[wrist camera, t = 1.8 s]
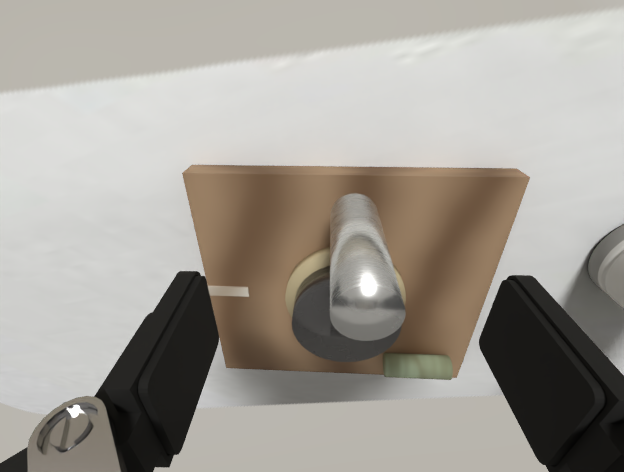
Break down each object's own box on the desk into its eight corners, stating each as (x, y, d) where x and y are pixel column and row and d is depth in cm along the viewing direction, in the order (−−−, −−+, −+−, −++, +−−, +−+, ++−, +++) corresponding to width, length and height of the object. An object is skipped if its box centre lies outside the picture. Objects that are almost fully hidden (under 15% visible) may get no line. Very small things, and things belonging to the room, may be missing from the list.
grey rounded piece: (418, 179, 17) (489, 289, 9) (389, 340, 24) (418, 483, 16) (289, 178, 17) (255, 282, 10) (296, 337, 24) (279, 476, 16)
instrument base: (516, 168, 19) (548, 189, 16) (450, 362, 28) (464, 397, 26) (191, 165, 20) (168, 184, 17) (231, 353, 29) (220, 386, 26)
